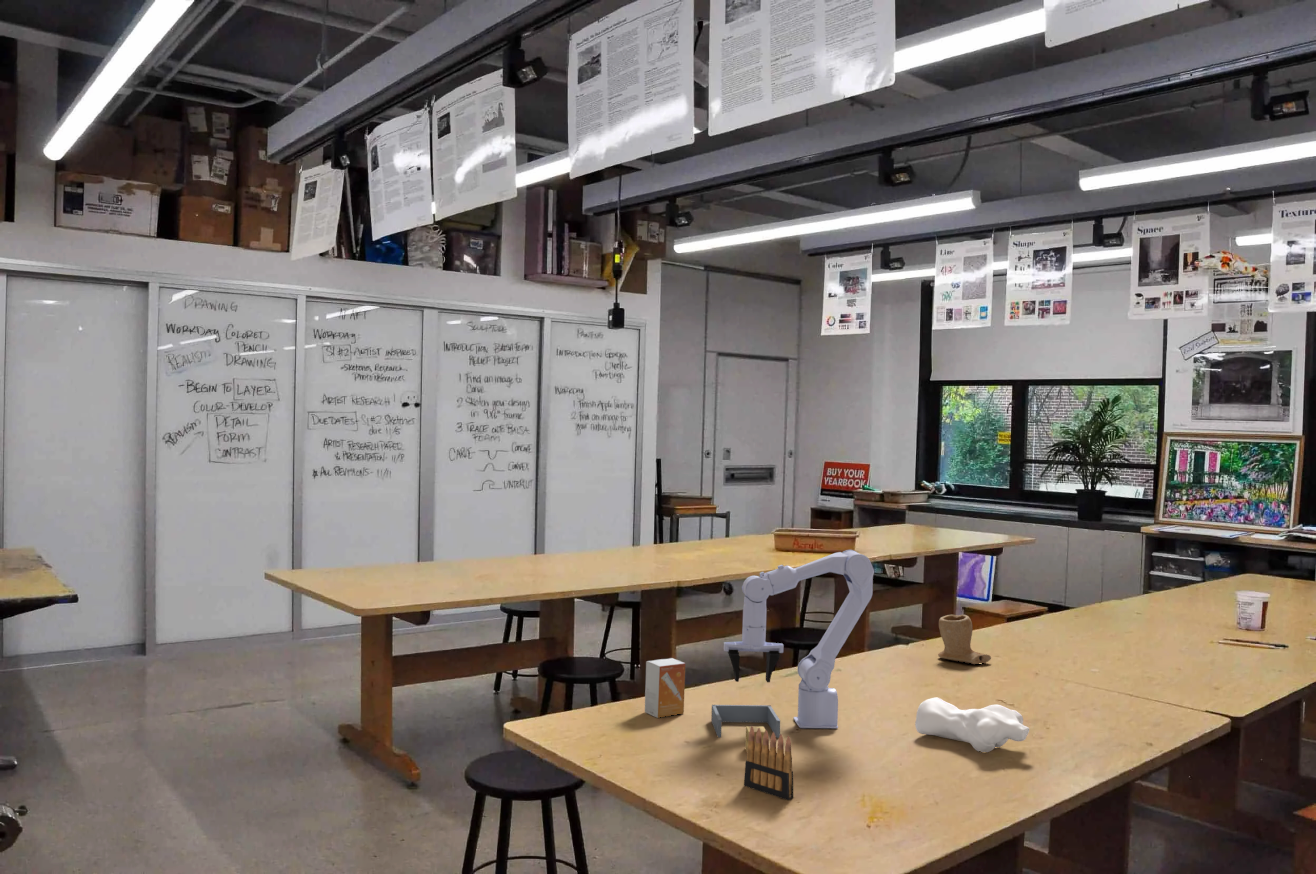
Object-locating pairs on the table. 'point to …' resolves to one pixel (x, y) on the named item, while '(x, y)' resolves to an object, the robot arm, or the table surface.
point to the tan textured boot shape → (959, 640)
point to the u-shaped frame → (744, 716)
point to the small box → (664, 687)
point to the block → (754, 733)
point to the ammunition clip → (769, 765)
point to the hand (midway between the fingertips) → (752, 681)
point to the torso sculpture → (971, 724)
